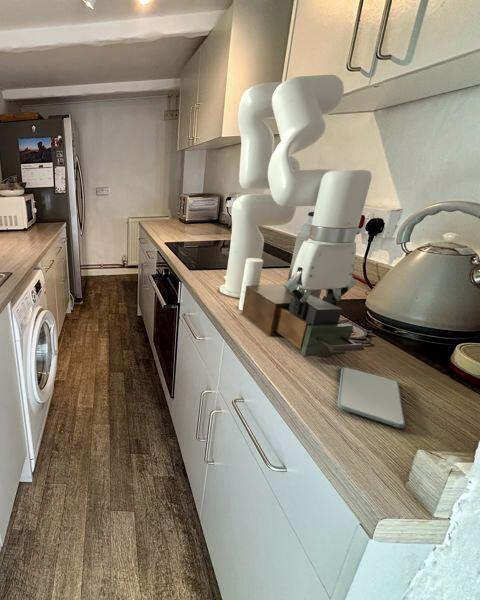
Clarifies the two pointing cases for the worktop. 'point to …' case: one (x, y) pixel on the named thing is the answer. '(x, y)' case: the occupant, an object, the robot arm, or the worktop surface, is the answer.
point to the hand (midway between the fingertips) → (312, 315)
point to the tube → (250, 276)
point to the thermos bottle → (299, 241)
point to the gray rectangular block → (319, 311)
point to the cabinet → (265, 305)
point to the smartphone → (371, 397)
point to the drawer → (315, 335)
